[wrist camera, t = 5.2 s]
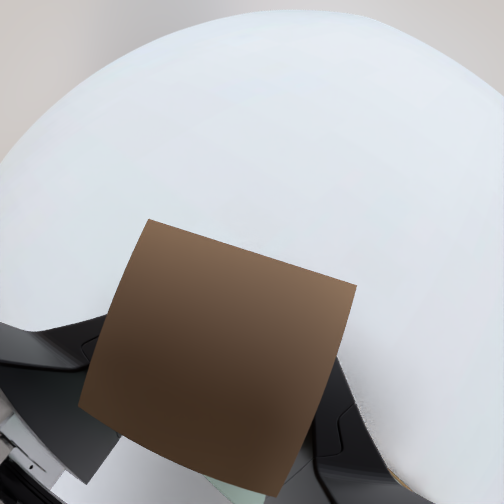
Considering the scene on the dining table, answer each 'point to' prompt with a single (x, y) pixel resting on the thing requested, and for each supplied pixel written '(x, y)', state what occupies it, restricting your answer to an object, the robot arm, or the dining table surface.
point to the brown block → (216, 356)
